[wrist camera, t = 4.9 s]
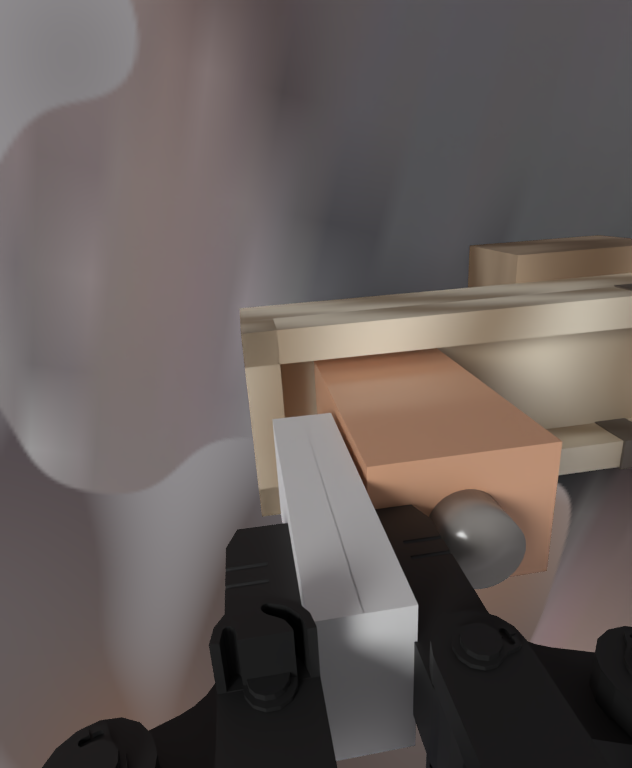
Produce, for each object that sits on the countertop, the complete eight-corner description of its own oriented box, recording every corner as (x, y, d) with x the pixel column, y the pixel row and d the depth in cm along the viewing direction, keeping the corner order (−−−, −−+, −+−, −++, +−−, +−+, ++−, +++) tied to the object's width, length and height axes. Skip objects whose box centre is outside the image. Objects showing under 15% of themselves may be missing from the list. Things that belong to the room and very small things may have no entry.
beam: (255, 440, 24) (265, 544, 17) (236, 264, 21) (236, 298, 14) (754, 379, 27) (942, 445, 20) (795, 219, 24) (1031, 228, 17)
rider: (319, 448, 17) (383, 637, 10) (313, 359, 16) (381, 495, 9) (432, 434, 18) (574, 603, 10) (434, 346, 17) (595, 465, 9)
